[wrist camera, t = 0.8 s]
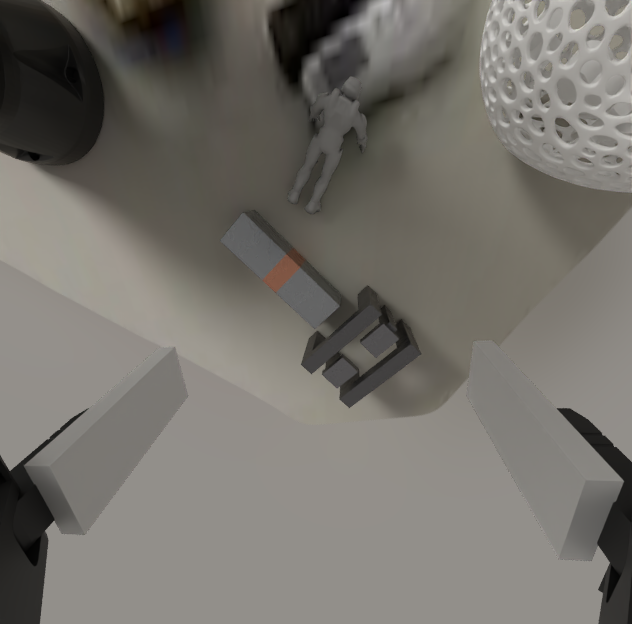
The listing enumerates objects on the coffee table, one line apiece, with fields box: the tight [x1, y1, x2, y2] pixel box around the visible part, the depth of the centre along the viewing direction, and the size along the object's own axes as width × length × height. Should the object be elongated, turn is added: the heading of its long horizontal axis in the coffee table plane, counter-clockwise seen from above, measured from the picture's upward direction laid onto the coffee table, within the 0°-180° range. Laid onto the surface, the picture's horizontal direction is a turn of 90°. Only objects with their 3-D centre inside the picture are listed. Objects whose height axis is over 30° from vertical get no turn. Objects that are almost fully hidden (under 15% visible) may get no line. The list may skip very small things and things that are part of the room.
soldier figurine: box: [288, 77, 368, 214], centre depth 31 cm, size 6×5×12 cm
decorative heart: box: [480, 0, 632, 193], centre depth 22 cm, size 18×11×17 cm, turn 51°
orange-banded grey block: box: [220, 210, 341, 329], centre depth 36 cm, size 14×4×4 cm, turn 46°
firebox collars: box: [301, 286, 421, 408], centre depth 36 cm, size 8×10×7 cm
